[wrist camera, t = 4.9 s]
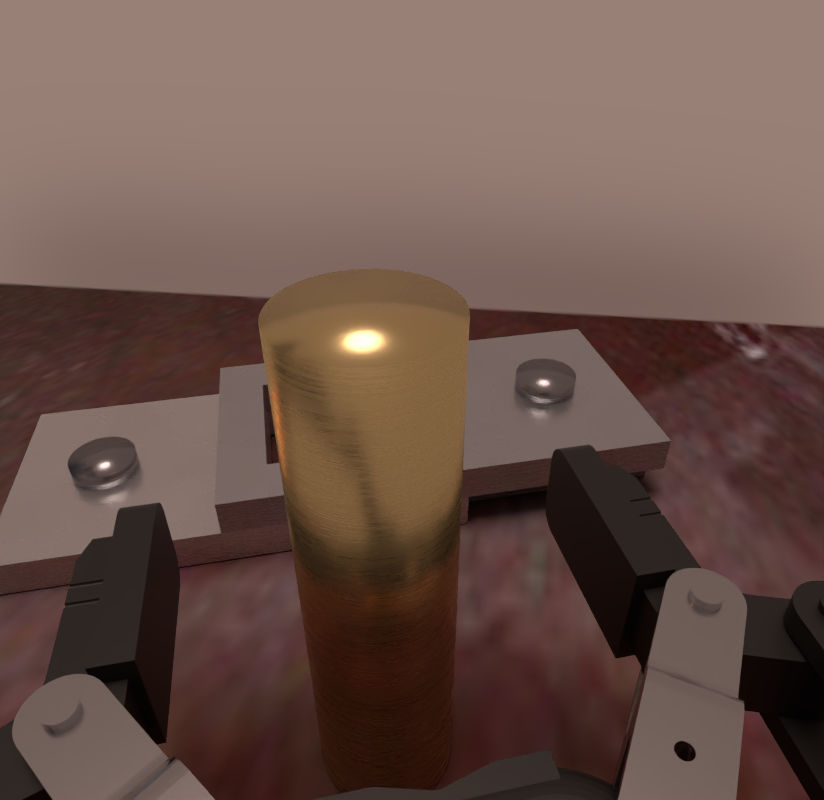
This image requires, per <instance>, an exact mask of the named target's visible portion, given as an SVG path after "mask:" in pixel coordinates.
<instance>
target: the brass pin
mask: <svg viewBox="0 0 824 800" xmlns="http://www.w3.org/2000/svg"><path fill="white" fill-rule="evenodd" d="M469 320H470V313H469V307H468V305H467V303H466V301H465V300H464V299H463V297H462V296H461V295H460V294H459V293H458V292H457V291H455V290H454V289H452V288H451V287H449V286H448V285H446V284H444V283H442V282H440V281H437V280H435V279H432V278H429V277H426V276H422V275H419V274H414V273H409V272H404V271H396V270H385V269H384V270H383V269H359V270H347V271H339V272H333V273H327V274H323V275H319V276H315V277H312V278H308V279H305V280H302V281H300V282H297V283H295V284H293V285H290V286H288V287H286V288H285V289H283V290H281V291H280V292H279V293H277V294H276V295H274V296H273V297H272V298H270V299H269V301H268V302H267V303H266V304H265V305H264V307H263V308H262V310H261V312H260V315H259V321H258V324H259V330H260V337H261V344H262V350H263V357H264V364H265V370H266V377H267V384H268V391H269V397H270V404H271V411H272V417H273V424H274V431H275V438H276V444H277V451H278V458H279V464H280V471H281V478H282V484H283V491H284V498H285V505H286V511H287V518H288V525H289V531H290V538H291V545H292V551H293V558H294V565H295V572H296V578H297V585H298V592H299V598H300V605H301V612H302V619H303V625H304V632H305V639H306V645H307V652H308V659H309V665H310V672H311V679H312V686H313V692H314V699H315V706H316V712H317V719H318V726H319V732H320V739H321V746H322V753H323V759H324V764H325V767H326V770H327V773H328V775H329V777H330V779H331V780H332V782H333V783H334V785H335V786H336V787H337V788H338V789H339V791H340V792H341V793H346V792H351V791H355V790H360V789H365V788H370V787H384V788H401V789H418V790H432V789H433V788H434V787H435V786H436V785H437V783H438V782H439V780H440V779H441V778H442V776H443V774H444V772H445V770H446V767H447V765H448V762H449V757H450V751H451V732H452V709H453V686H454V664H455V641H456V618H457V595H458V572H459V549H460V526H461V503H462V480H463V457H464V434H465V411H466V388H467V365H468V343H469Z"/></svg>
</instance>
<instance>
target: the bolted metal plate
mask: <svg viewBox="0 0 824 800" xmlns="http://www.w3.org/2000/svg"><path fill="white" fill-rule="evenodd" d="M270 435H275V431H274V424H273V417H272V411H271V404H270V397H269V391H268V384H267V377H266V370H265V364H264V363H263V364H254V365H245V366H236V367H227V368H220V391H219V394H215V395H207V396H198V397H190V398H181V399H172V400H164V401H155V402H146V403H138V404H129V405H120V406H112V407H103V408H94V409H86V410H77V411H68V412H60V413H51V414H42V415H41V416H40V419H39V421H38V424H37V426H36V429H35V431H34V434H33V436H32V439H31V441H30V444H29V446H28V449H27V451H26V454H25V456H24V459H23V461H22V464H21V466H20V469H19V471H18V474H17V476H16V478H15V481H14V483H13V486H12V488H11V491H10V493H9V496H8V498H7V501H6V503H5V506H4V508H3V511H2V513H1V516H0V595H2V594H8V593H15V592H21V591H28V590H34V589H41V588H47V587H54V586H60V585H67V584H70V582H71V578H72V574H73V570H74V566H75V562H76V560H77V559H78V558H79V556H80V555H81V554H82V552H83V551H84V550H85V548H86V547H87V546H88V544H89V543H90V542H91V540H92V539H96V538H103V537H110V536H113V531H114V526H115V521H116V517H117V512H118V510H119V509H120V508H123V507H130V506H138V505H145V504H152V503H161V505H162V507H163V509H164V513H165V516H166V520H167V523H168V527H169V530H170V534H171V537H172V541H173V544H174V548H175V551H176V555H177V559H178V565H179V567H184V566H191V565H197V564H204V563H210V562H217V561H223V560H230V559H237V558H243V557H250V556H256V555H263V554H269V553H276V552H282V551H289V550H292V545H291V538H290V531H289V525H288V518H287V511H286V505H285V498H284V491H283V484H282V478H281V471H280V464H279V463H274V464H272V454H271V438H270ZM670 442H671V440H670V439H669V438H668V437H667V436H666V434H665V433H664V432H663V431H662V430H661V428H660V427H659V426H658V425H657V424H656V422H655V421H654V420H653V419H652V418H651V416H650V415H649V414H648V413H647V412H646V410H645V409H644V408H643V407H642V406H641V404H640V403H639V402H638V401H637V400H636V398H635V397H634V396H633V395H632V394H631V392H630V391H629V390H628V389H627V388H626V386H625V385H624V384H623V383H622V382H621V380H620V379H619V378H618V377H617V376H616V374H615V373H614V372H613V371H612V370H611V368H610V367H609V366H608V365H607V364H606V362H605V361H604V360H603V359H602V358H601V356H600V355H599V354H598V353H597V352H596V350H595V349H594V348H593V347H592V346H591V344H590V343H589V342H588V341H587V340H586V338H585V337H584V336H583V335H582V334H581V332H580V331H579V330H578V329H573V330H564V331H555V332H546V333H537V334H528V335H518V336H509V337H500V338H491V339H482V340H473V341H469V343H468V365H467V388H466V411H465V434H464V457H463V480H462V503H461V524H465V523H467V522H468V502H472V501H479V500H486V499H493V498H499V497H506V496H513V495H520V494H526V493H533V492H540V491H547V489H548V482H549V474H550V467H551V460H552V455H553V452H554V450H555V449H560V448H567V447H575V446H582V445H591V446H592V447H594V449H595V450H596V451H597V453H598V454H599V456H600V457H601V459H602V460H603V462H604V463H605V465H606V466H613V465H618V466H620V467H621V468H623V469H624V470H625V471H627V472H628V473H630V474H631V475H632V476H634V477H641V476H644V474H645V471H648V470H655V469H662V468H664V466H665V462H666V458H667V454H668V450H669V446H670Z"/></svg>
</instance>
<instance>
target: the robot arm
mask: <svg viewBox="0 0 824 800" xmlns="http://www.w3.org/2000/svg"><path fill="white" fill-rule="evenodd" d="M546 516H547V521H548V525H549V528H550V530H551V532H552V534H553V536H554V538H555V540H556V542H557V544H558V546H559V548H560V550H561V552H562V554H563V556H564V558H565V560H566V562H567V564H568V566H569V568H570V570H571V572H572V574H573V576H574V577H575V579H576V581H577V583H578V585H579V587H580V589H581V591H582V593H583V595H584V597H585V599H586V601H587V603H588V605H589V607H590V609H591V611H592V613H593V615H594V617H595V619H596V621H597V623H598V625H599V626H600V628H601V630H602V632H603V634H604V636H605V638H606V640H607V642H608V644H609V646H610V648H611V650H612V652H613V654H614V656H615V658H620V657H626V656H631V655H636V657H637V659H638V661H639V663H640V664H641V670H640V673H639V677H638V681H637V685H636V689H635V694H634V698H633V702H632V706H631V710H630V714H629V719H628V723H627V727H626V731H625V735H624V740H623V744H622V748H621V752H620V756H619V760H618V764H617V768H616V771H615V775H614V779H613V782H612V785H611V784H609V783H607V782H605V781H603V780H601V779H599V778H596V777H594V776H592V775H589V774H586V773H583V772H579V771H575V770H570V769H565V768H557V767H556V764H555V762H554V759H553V756H552V754H551V751H550V750H545V751H540V752H536V753H531V754H526V755H521V756H517V757H512V758H507V759H502V760H498V761H493V762H492V763H490V764H488V765H486V766H484V767H482V768H480V769H478V770H476V771H474V772H473V773H471V774H469V775H467V776H465V777H463V778H461V779H459V780H457V781H455V782H454V783H452V784H450V785H448V786H446V787H444V788H442V789H439V790H418V789H401V788H384V787H370V788H365V789H360V790H355V791H351V792H346V793H341V794H336V795H332V796H327V797H322V798H317V799H313V800H736V794H737V784H738V773H739V763H740V752H741V742H742V731H743V721H744V710H745V711H753V712H759V713H760V715H761V716H762V718H763V720H764V722H765V723H766V725H767V727H768V728H769V730H770V732H771V733H772V735H773V737H774V739H775V740H776V742H777V744H778V745H779V747H780V749H781V750H782V752H783V754H784V755H785V757H786V759H787V761H788V762H789V764H790V766H791V767H792V769H793V771H794V772H795V774H796V776H797V778H798V779H799V781H800V783H801V784H802V786H803V788H804V789H805V791H806V793H807V794H808V796H809V798H810V800H824V581H810V582H806V583H803V584H801V585H800V586H798V587H797V588H796V590H795V591H794V593H793V596H792V598H791V599H783V598H773V597H764V596H755V595H748V594H743V593H741V591H740V590H739V589H738V588H737V587H736V586H735V585H734V584H733V583H732V582H731V581H730V580H728V579H727V578H725V577H724V576H722V575H720V574H718V573H715V572H713V571H710V570H706V569H702V568H701V567H700V566H699V564H698V563H697V562H696V560H695V559H694V557H693V556H692V555H691V553H690V552H689V550H688V549H687V548H686V546H685V545H684V543H683V542H682V541H681V539H680V538H679V536H678V535H677V534H676V532H675V531H674V529H673V528H672V527H671V525H670V524H669V522H668V521H667V520H666V518H665V517H664V515H661V511H660V510H659V508H658V507H657V506H656V504H655V503H654V501H651V499H650V496H649V494H648V493H647V491H646V490H645V489H644V487H643V486H642V484H641V483H640V482H639V480H638V479H637V478H635V477H634V476H632V475H631V474H630V473H628V472H627V471H625V470H624V469H623V468H621V467H620V466H618V465H613V466H606V465H605V463H604V462H603V460H602V459H601V457H600V456H599V454H598V453H597V451H596V450H595V449H594V447H592V446H591V445H582V446H575V447H567V448H560V449H555V450H554V452H553V455H552V460H551V467H550V474H549V482H548V489H547V496H546ZM179 591H180V574H179V565H178V559H177V555H176V551H175V548H174V544H173V541H172V537H171V534H170V530H169V527H168V523H167V520H166V516H165V513H164V509H163V507H162V505H161V503H152V504H145V505H138V506H130V507H123V508H120V509H119V510H118V512H117V517H116V521H115V526H114V531H113V536H110V537H103V538H96V539H92V540H91V542H90V543H89V544H88V546H87V547H86V548H85V550H84V551H83V552H82V554H81V555H80V556H79V558H78V559H77V560H76V562H75V566H74V570H73V574H72V578H71V582H70V589H68V593H67V597H66V601H65V608H64V609H63V613H62V617H61V621H60V625H59V629H58V632H57V636H56V640H55V644H54V648H53V652H52V656H51V660H50V664H49V668H48V672H47V675H46V679H45V682H44V685H43V686H42V687H40V688H39V689H38V690H37V691H35V692H34V693H33V694H32V695H31V696H30V697H29V698H28V699H27V700H26V701H25V702H24V704H23V705H22V706H21V708H20V709H19V711H18V713H17V715H16V717H15V719H14V720H13V721H11V722H10V723H8V724H7V725H5V726H3V727H2V728H0V800H215V799H214V798H213V797H212V796H211V795H210V794H209V792H208V791H207V790H206V789H205V788H204V787H203V786H202V784H201V783H200V782H199V781H198V780H197V779H196V778H195V776H194V775H193V774H192V773H191V772H190V771H189V770H188V769H187V767H186V766H185V765H184V764H183V763H182V762H180V761H179V760H178V759H177V758H172V759H169V758H168V757H167V756H166V755H165V754H164V753H163V752H162V751H161V750H160V748H159V747H158V746H157V745H156V744H161V743H166V737H167V726H168V714H169V703H170V692H171V681H172V670H173V658H174V647H175V636H176V625H177V614H178V603H179Z"/></svg>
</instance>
